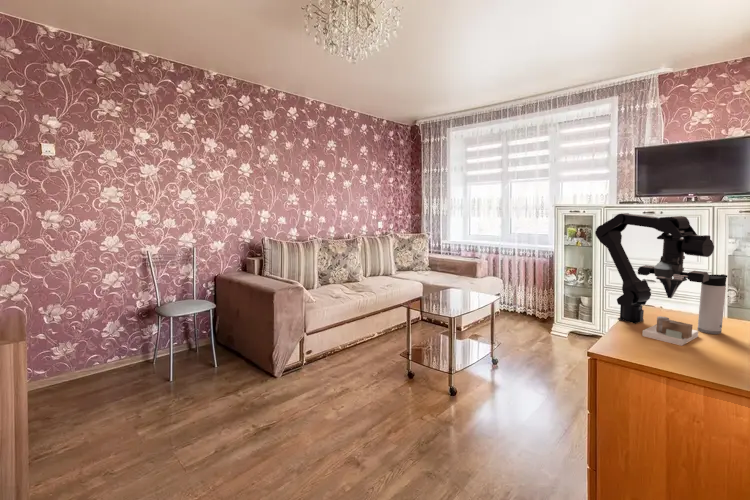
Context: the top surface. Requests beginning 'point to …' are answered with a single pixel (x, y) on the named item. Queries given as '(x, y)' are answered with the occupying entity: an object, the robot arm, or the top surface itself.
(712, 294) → the travel mug
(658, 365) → the top surface
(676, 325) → the grey knobbed lever
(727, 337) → the top surface
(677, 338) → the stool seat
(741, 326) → the top surface
